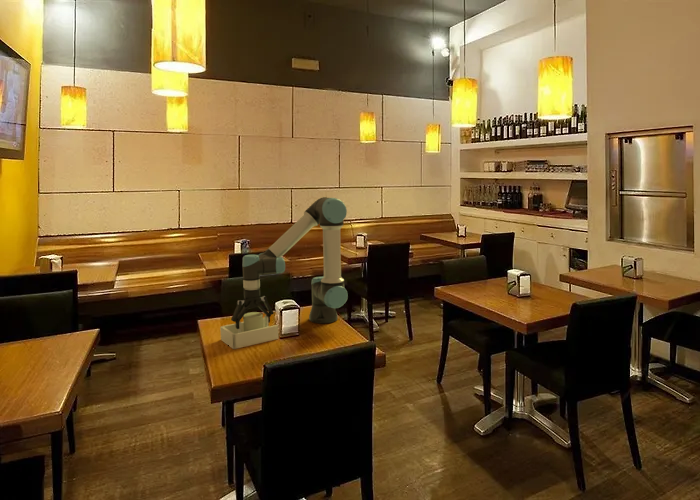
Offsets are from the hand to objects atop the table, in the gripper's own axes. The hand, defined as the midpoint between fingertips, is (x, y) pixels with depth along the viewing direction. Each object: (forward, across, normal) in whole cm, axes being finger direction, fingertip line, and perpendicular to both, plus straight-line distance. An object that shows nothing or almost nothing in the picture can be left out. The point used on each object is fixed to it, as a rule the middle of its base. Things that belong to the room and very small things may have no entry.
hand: (253, 332), depth 218 cm
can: (+3, 0, 0) cm, 3 cm away
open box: (+3, +1, 0) cm, 3 cm away
